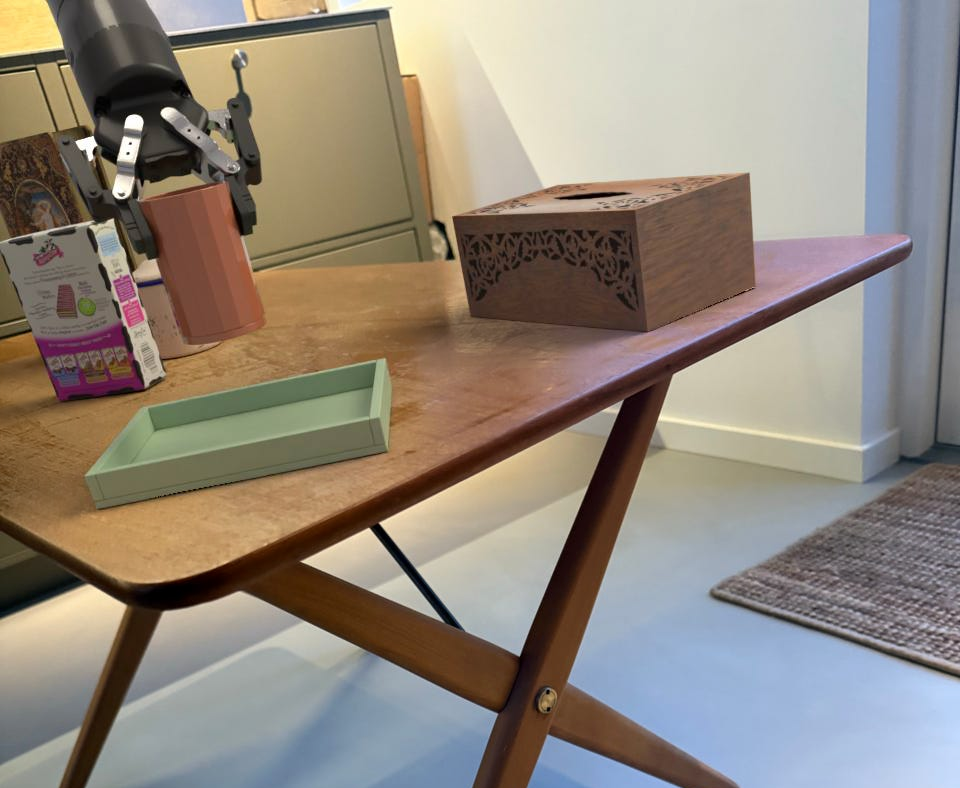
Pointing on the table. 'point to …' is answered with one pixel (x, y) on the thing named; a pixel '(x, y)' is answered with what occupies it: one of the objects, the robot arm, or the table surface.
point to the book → (45, 187)
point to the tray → (246, 434)
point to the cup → (204, 263)
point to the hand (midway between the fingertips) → (199, 238)
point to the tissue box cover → (610, 251)
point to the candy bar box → (84, 310)
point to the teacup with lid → (162, 313)
